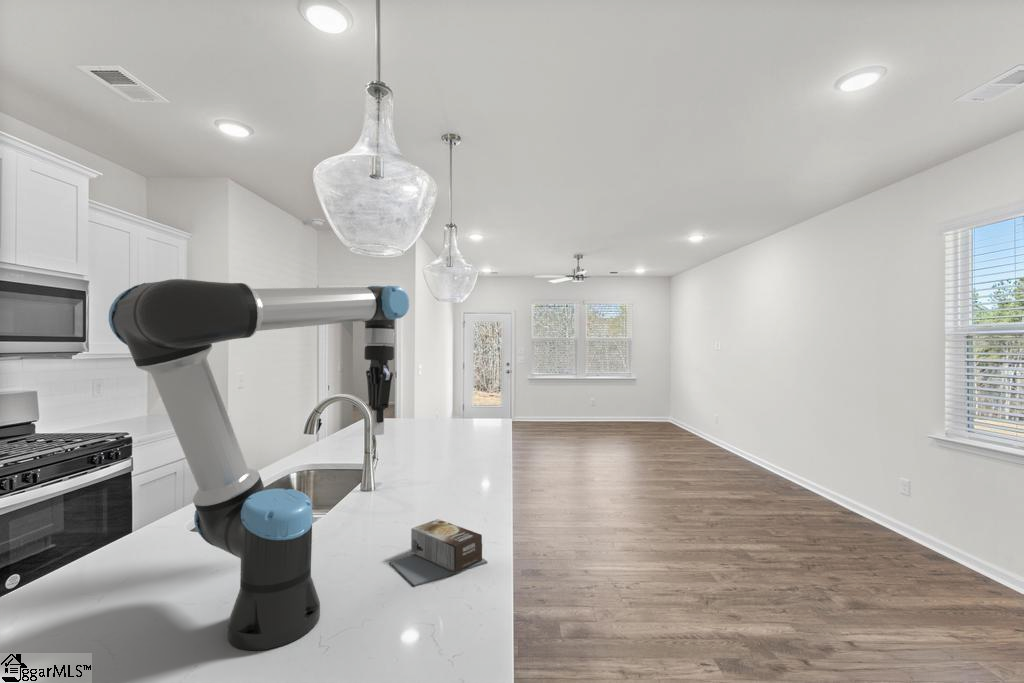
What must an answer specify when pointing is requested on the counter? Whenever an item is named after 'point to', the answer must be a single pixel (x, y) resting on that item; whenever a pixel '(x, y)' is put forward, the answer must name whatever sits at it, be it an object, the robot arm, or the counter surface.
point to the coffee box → (446, 545)
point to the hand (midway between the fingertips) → (377, 434)
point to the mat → (423, 569)
